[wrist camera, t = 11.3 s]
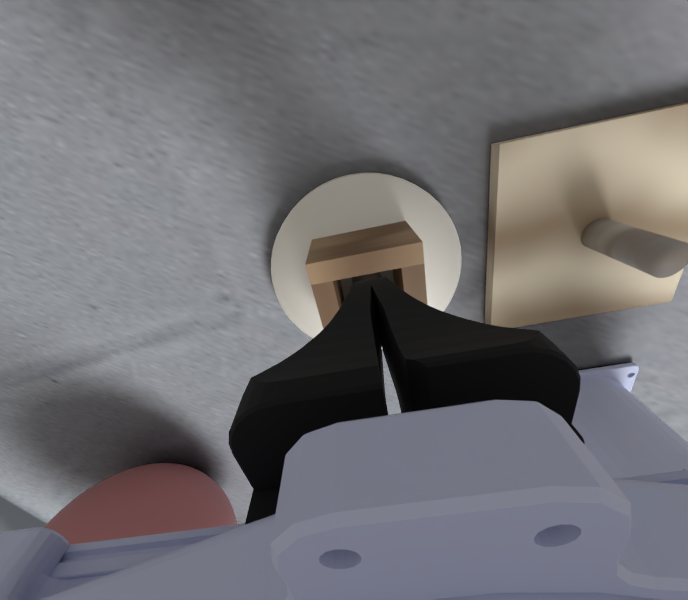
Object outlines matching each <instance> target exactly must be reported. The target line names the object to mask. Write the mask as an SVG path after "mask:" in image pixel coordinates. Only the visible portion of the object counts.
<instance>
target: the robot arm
mask: <svg viewBox="0 0 688 600" xmlns="http://www.w3.org/2000/svg"><path fill="white" fill-rule="evenodd" d="M381 346H382V348H381ZM382 349H383V352H384V355H385V358H386V361H387V364H388V368H389V371H390V374H391V377H392V380H393V383H394V386H395V389H396V392H397V396H398V400H399V404H400V408H401V413H400V414H393V415H388V411H387V405H386V398H385V388H384V375H383V361H382ZM638 370H639V367H638V365H636V364H635V363H625V364H619V365H612V366H606V367H599V368H592V369H586V370H579V371H578V369H577V367H576V365H575V364H574V363H573V362H572V361H571V360H570V359H569V358H568V357H567V356H566V355H565V354H564V353H563V352H562V351H561V350H560V349H559V348H558V347H557V346H556V345H555V344H554V343H553V342H551V341H550V340H549V339H548V338H547V337H546V336H545V335H543V334H542V333H541V332H540V331H535V330H526V329H518V328H509V327H501V326H495V325H490V324H485V323H480V322H475V321H471V320H467V319H464V318H460V317H457V316H454V315H451V314H448V313H445V312H442V311H440V310H438V309H435V308H433V307H431V306H429V305H426V304H424V303H423V302H421V301H419V300H417V299H415V298H414V297H412V296H410V295H409V294H408V293H406V292H405V291H403V290H402V289H400V288H399V287H398V286H397V285H395V284H394V283H393V282H392V281H390V280H389V279H388V278H386V277H382V278H377V279H371V280H366V281H360V282H355V283H353V285H352V286H351V288H350V291H349V293H348V295H347V297H346V299H345V300H344V302H343V304H342V305H341V307H340V309H339V310H338V311H337V313H336V314H335V316H334V317H333V318H332V320H331V321H330V322H329V324H328V325H327V326H326V327H325V328H324V329H323V330H322V331H321V332H320V333H319V334H318V335H317V336H316V337H314V338H313V339H312V340H311V341H310V342H308V343H307V344H306V345H305V346H304V347H302V348H301V349H300V350H298V351H297V352H296V353H294V354H293V355H291V356H290V357H288V358H286V359H285V360H283V361H282V362H280V363H278V364H277V365H275V366H273V367H271V368H269V369H267V370H265V371H264V372H262V373H260V374H258V375H256V376H254V377H252V378H251V379H250V381H249V384H248V386H247V388H246V390H245V392H244V394H243V397H242V399H241V402H240V404H239V407H238V410H237V412H236V415H235V418H234V420H233V423H232V426H231V429H230V431H229V445H230V448H231V451H232V453H233V455H234V457H235V459H236V460H237V462H238V464H239V465H240V467H241V469H242V471H243V472H244V474H245V476H246V477H247V479H248V481H249V482H250V484H251V486H252V487H253V489H254V490H253V494H252V498H251V502H250V506H249V510H248V514H247V518H246V522H245V524H236V525H228V526H220V527H212V528H203V529H195V530H187V531H179V532H170V533H162V534H154V535H146V536H137V537H129V538H121V539H113V540H104V541H96V542H88V543H80V544H71V545H69V543H68V541H67V540H66V539H65V538H64V537H63V536H62V535H61V534H59V533H58V532H56V531H54V530H51V529H47V528H29V529H21V530H13V531H5V532H0V600H688V442H686V441H685V440H684V439H683V438H682V437H681V436H680V435H678V434H677V433H676V432H675V431H674V430H673V429H672V428H670V427H669V426H668V425H667V424H666V423H665V422H664V421H662V420H661V419H660V418H659V417H658V416H657V415H655V414H654V413H653V412H652V411H651V410H650V409H649V408H647V407H646V406H645V405H644V404H643V403H642V402H641V401H639V400H638V399H637V398H636V397H635V396H634V395H633V394H631V393H630V392H631V389H632V387H633V384H634V381H635V378H636V376H637V373H638Z"/></svg>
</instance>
